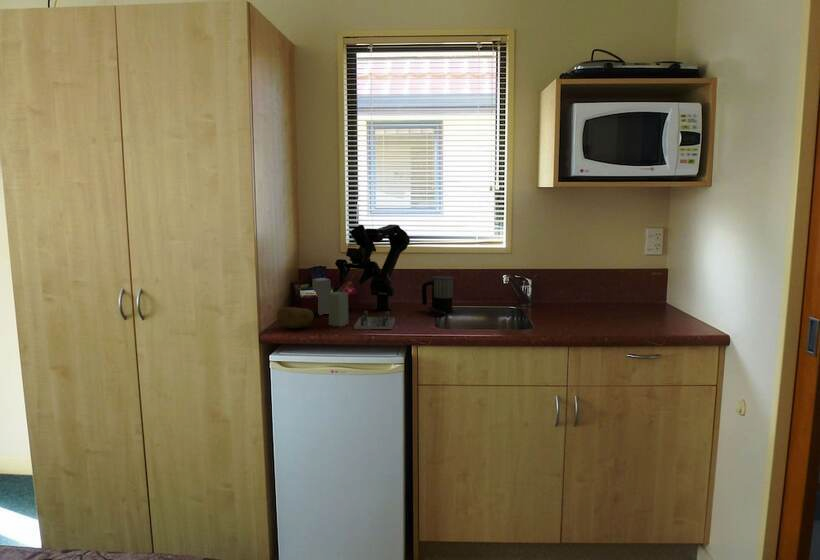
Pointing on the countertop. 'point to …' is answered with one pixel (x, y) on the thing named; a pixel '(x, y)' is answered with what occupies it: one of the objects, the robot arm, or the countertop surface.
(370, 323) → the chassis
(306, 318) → the potato
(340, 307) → the plate
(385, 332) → the countertop surface
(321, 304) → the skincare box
